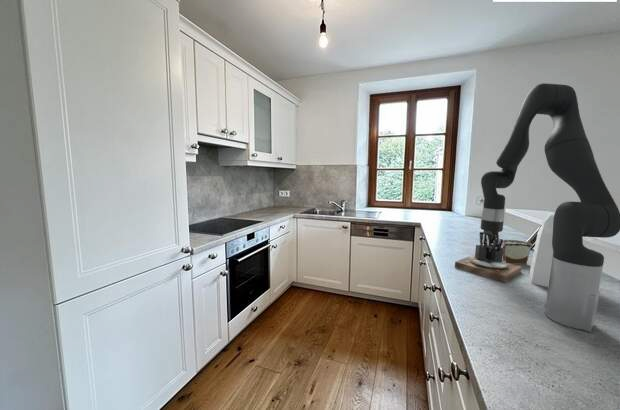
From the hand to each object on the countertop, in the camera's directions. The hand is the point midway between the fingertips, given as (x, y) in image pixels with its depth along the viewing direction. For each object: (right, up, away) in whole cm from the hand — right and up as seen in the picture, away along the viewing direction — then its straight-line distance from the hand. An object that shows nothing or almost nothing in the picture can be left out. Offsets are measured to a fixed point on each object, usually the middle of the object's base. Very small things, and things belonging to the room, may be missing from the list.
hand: (488, 258), depth 104 cm
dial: (0, -2, 0) cm, 2 cm away
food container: (+19, -4, +11) cm, 23 cm away
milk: (+16, -7, -12) cm, 21 cm away
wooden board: (0, -5, +1) cm, 5 cm away
